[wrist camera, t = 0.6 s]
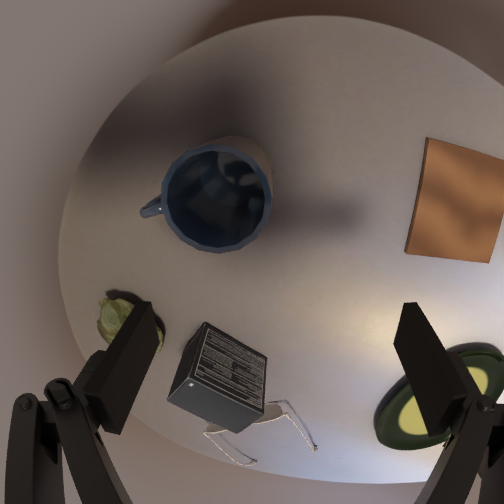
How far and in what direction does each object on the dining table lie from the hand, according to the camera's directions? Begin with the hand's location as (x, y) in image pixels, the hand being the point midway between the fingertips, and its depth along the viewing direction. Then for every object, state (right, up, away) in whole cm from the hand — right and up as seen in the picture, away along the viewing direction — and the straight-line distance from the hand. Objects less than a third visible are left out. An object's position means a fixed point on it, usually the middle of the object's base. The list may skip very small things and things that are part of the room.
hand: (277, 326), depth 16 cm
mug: (-5, +12, +18) cm, 22 cm away
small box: (-5, -11, +28) cm, 31 cm away
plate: (+34, -23, +31) cm, 52 cm away
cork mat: (+25, +10, +17) cm, 32 cm away
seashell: (-19, -6, +28) cm, 34 cm away
